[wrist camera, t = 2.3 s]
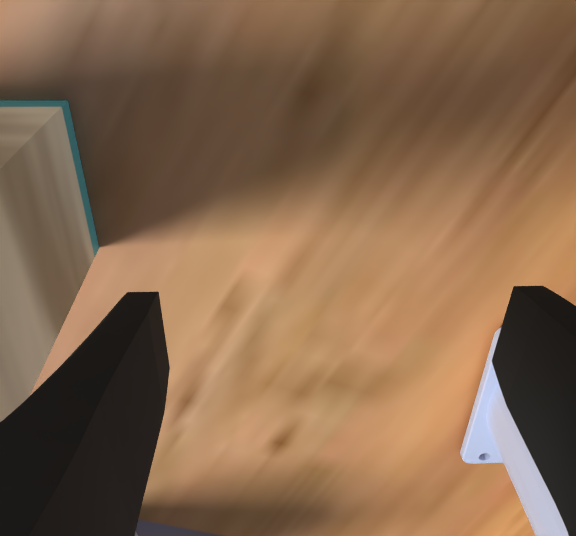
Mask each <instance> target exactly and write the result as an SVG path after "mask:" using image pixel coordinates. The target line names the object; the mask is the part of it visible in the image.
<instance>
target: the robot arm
mask: <svg viewBox="0 0 576 536" xmlns="http://www.w3.org/2000/svg"><path fill="white" fill-rule="evenodd" d="M169 368H170V367H169V360H168V354H167V347H166V340H165V333H164V326H163V320H162V313H161V306H160V299H159V292H127V293H126V294H125V295H124V296H123V297H122V298H121V300H120V301H119V302H118V303H117V304H116V305H115V306H114V308H113V309H112V310H111V311H110V312H109V313H108V315H107V316H106V317H105V318H104V319H103V320H102V321H101V323H100V324H99V325H98V326H97V327H96V328H95V329H94V331H93V332H92V333H91V334H90V335H89V336H88V337H87V338H86V339H85V341H84V342H83V343H82V344H81V345H80V346H79V347H78V348H77V349H76V350H75V351H74V352H73V353H72V355H71V356H70V357H69V358H68V359H67V360H66V361H65V362H64V363H63V364H62V365H61V366H60V367H59V368H58V369H57V370H56V371H55V372H54V373H53V374H52V375H51V376H50V377H49V378H48V379H47V380H46V381H45V382H44V383H43V384H42V385H41V386H40V387H39V388H38V389H37V390H36V391H35V392H34V393H33V394H32V395H30V396H29V397H28V398H27V399H26V400H25V401H24V402H23V403H22V404H21V405H20V406H18V407H17V408H16V409H15V410H14V411H13V412H12V413H11V414H9V415H8V416H7V417H6V418H5V419H4V420H2V421H1V422H0V536H135V532H136V526H137V522H138V517H139V513H140V509H141V505H142V501H143V497H144V493H145V489H146V485H147V481H148V477H149V473H150V469H151V465H152V461H153V457H154V453H155V449H156V445H157V440H158V436H159V432H160V428H161V424H162V420H163V415H164V410H165V402H166V394H167V386H168V377H169ZM460 454H461V457H462V459H463V461H464V462H466V463H504V465H505V467H506V469H507V471H508V474H509V476H510V478H511V480H512V483H513V485H514V487H515V490H516V492H517V494H518V496H519V499H520V501H521V503H522V505H523V508H524V510H525V512H526V515H527V517H528V519H529V521H530V524H531V526H532V528H533V531H534V533H535V535H536V536H576V306H575V305H573V304H572V303H570V302H569V301H567V300H565V299H564V298H562V297H561V296H559V295H558V294H556V293H554V292H553V291H551V290H549V289H548V288H546V287H544V286H514V287H513V291H512V294H511V297H510V301H509V304H508V307H507V311H506V314H505V317H504V321H503V324H502V327H500V328H499V329H498V330H497V331H496V332H495V334H494V337H493V341H492V344H491V348H490V351H489V355H488V358H487V361H486V365H485V368H484V372H483V375H482V379H481V382H480V386H479V389H478V392H477V396H476V399H475V403H474V406H473V410H472V413H471V417H470V420H469V423H468V427H467V430H466V434H465V437H464V441H463V444H462V448H461V451H460Z"/></svg>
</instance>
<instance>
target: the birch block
mask: <svg viewBox="0 0 576 536" xmlns="http://www.w3.org/2000/svg"><path fill="white" fill-rule="evenodd" d="M98 249H99V245H98V240H97V235H96V231H95V226H94V221H93V216H92V212H91V207H90V202H89V198H88V193H87V188H86V183H85V179H84V174H83V169H82V164H81V160H80V155H79V150H78V146H77V141H76V136H75V131H74V127H73V122H72V117H71V112H70V108H69V103H68V100H0V422H1V421H2V420H4V419H5V418H6V417H7V416H8V415H9V414H11V413H12V412H13V411H14V410H15V409H16V408H17V407H18V406H20V405H21V404H22V403H23V402H24V401H25V400H26V399H27V398H28V397H29V396H30V393H31V391H32V389H33V387H34V385H35V383H36V381H37V379H38V376H39V374H40V372H41V370H42V368H43V366H44V364H45V362H46V359H47V357H48V355H49V353H50V351H51V349H52V347H53V345H54V342H55V340H56V338H57V336H58V334H59V332H60V330H61V328H62V325H63V323H64V321H65V319H66V317H67V315H68V313H69V311H70V308H71V306H72V304H73V302H74V300H75V298H76V296H77V294H78V291H79V289H80V287H81V285H82V283H83V281H84V279H85V277H86V274H87V272H88V270H89V268H90V266H91V264H92V262H93V260H94V257H95V255H96V253H97V251H98Z"/></svg>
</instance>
